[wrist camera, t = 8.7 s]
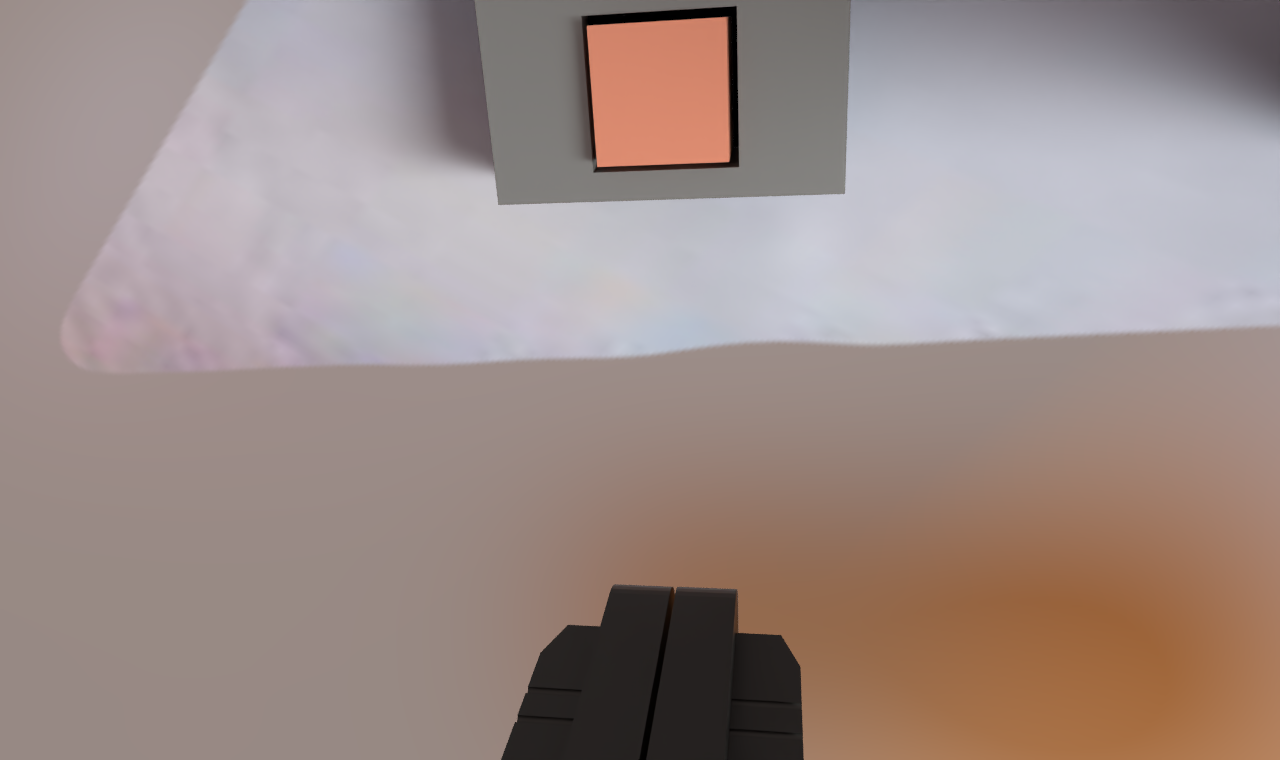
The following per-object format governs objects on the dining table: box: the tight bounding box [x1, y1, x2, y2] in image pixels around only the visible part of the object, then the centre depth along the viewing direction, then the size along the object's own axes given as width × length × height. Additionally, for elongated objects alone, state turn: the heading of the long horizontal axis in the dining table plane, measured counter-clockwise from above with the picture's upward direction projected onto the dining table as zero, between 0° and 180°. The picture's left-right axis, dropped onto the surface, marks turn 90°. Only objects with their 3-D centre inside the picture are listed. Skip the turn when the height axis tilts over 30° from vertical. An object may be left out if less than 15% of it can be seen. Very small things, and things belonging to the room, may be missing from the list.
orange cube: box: [587, 16, 734, 167], centre depth 31 cm, size 4×4×4 cm
